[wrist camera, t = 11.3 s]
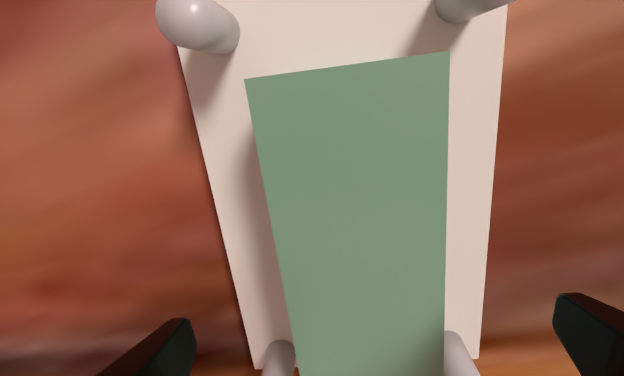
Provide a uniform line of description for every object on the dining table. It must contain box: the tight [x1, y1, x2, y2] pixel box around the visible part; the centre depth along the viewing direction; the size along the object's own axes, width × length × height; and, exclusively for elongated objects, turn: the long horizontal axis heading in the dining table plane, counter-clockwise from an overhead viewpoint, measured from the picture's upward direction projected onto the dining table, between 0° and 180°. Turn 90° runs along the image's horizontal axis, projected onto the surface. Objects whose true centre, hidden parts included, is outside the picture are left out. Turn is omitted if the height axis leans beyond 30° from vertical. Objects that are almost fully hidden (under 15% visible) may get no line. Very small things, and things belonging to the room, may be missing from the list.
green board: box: [244, 51, 450, 376], centre depth 12 cm, size 5×12×4 cm, turn 7°
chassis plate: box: [155, 0, 515, 376], centre depth 13 cm, size 12×18×4 cm, turn 7°
